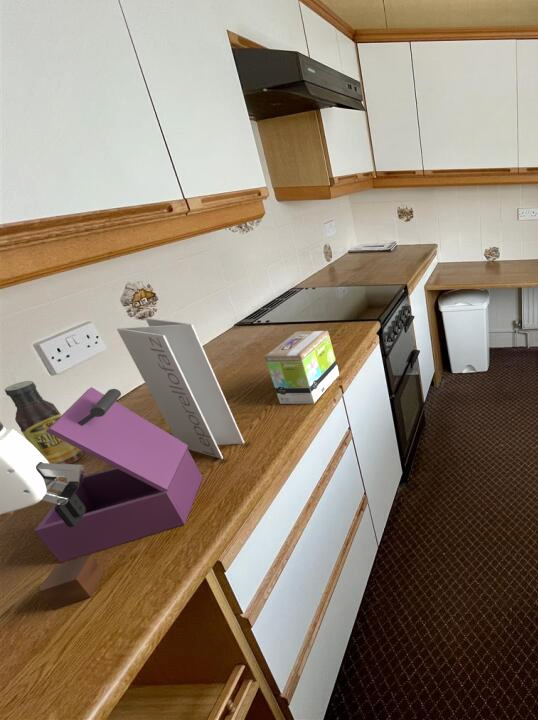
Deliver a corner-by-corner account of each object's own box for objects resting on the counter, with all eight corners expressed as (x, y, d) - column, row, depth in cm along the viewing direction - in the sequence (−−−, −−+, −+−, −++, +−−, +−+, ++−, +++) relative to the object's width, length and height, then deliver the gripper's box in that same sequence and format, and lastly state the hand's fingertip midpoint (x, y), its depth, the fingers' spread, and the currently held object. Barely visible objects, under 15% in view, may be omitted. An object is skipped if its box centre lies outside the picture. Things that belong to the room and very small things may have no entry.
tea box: (316, 404, 106) (300, 354, 100) (279, 405, 107) (261, 355, 100) (341, 374, 120) (328, 329, 113) (308, 375, 120) (293, 330, 114)
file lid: (45, 431, 60) (74, 410, 60) (87, 389, 71) (112, 371, 71) (163, 492, 70) (188, 473, 70) (184, 447, 80) (206, 431, 81)
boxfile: (60, 563, 68) (33, 530, 64) (96, 507, 78) (75, 477, 75) (184, 524, 73) (166, 492, 70) (202, 477, 84) (187, 448, 81)
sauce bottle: (56, 474, 88) (0, 397, 79) (40, 468, 90) (-16, 392, 81) (92, 454, 93) (44, 380, 85) (77, 448, 95) (28, 376, 87)
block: (54, 610, 61) (37, 591, 59) (70, 583, 64) (55, 565, 62) (91, 597, 62) (76, 579, 60) (104, 572, 66) (91, 554, 64)
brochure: (179, 446, 94) (116, 328, 81) (202, 431, 98) (146, 318, 85) (222, 458, 89) (162, 335, 76) (244, 442, 94) (192, 324, 81)
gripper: (-181, 481, 44) (-71, 581, 52) (26, 432, 50) (98, 529, 57) (-117, 440, 50) (-28, 534, 58) (60, 401, 56) (121, 492, 63)
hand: (35, 532), depth 57 cm, fingers open, 9 cm apart
